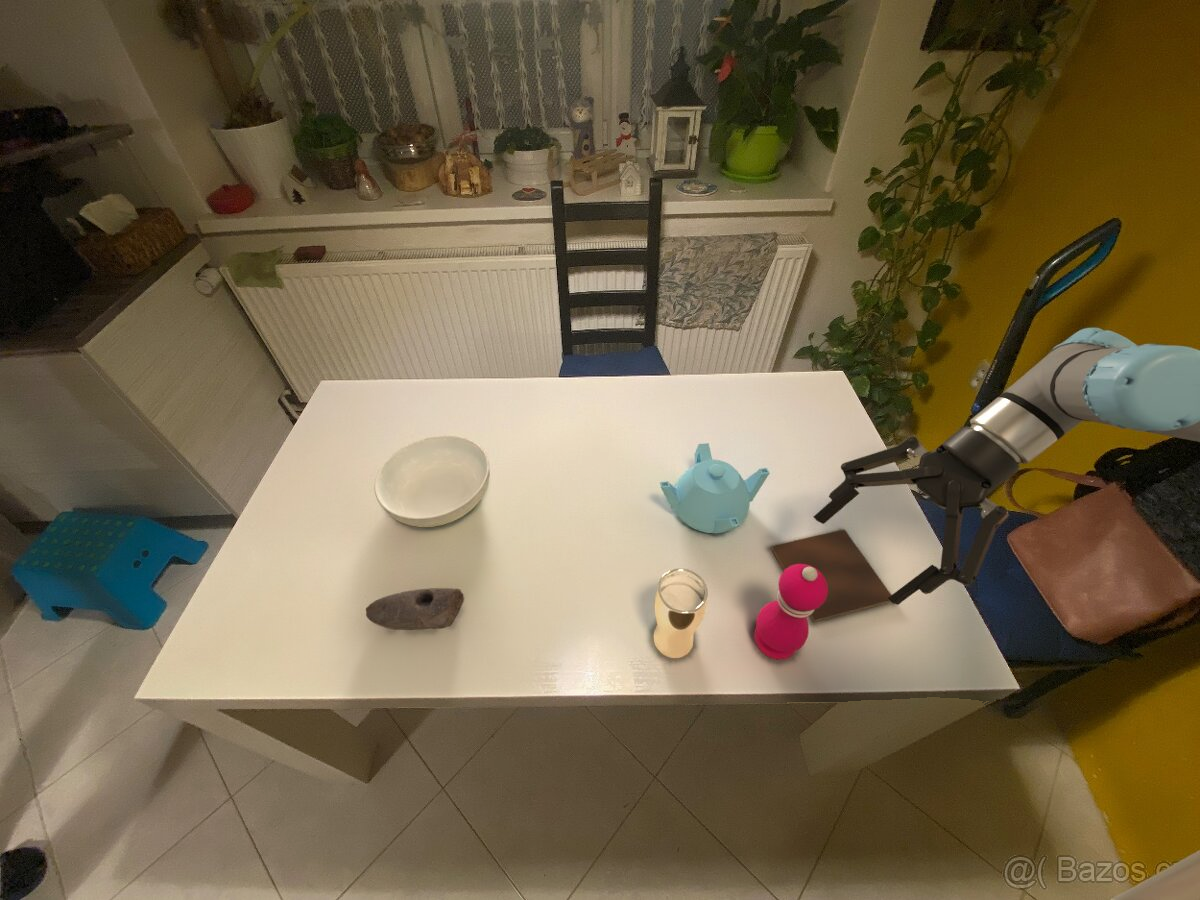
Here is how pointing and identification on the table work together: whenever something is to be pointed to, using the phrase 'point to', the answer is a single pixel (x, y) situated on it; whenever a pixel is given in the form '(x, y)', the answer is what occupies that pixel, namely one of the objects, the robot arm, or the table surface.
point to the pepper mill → (790, 611)
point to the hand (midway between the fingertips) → (852, 558)
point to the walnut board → (836, 572)
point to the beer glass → (678, 611)
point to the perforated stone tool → (416, 609)
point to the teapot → (713, 493)
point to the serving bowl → (433, 480)
